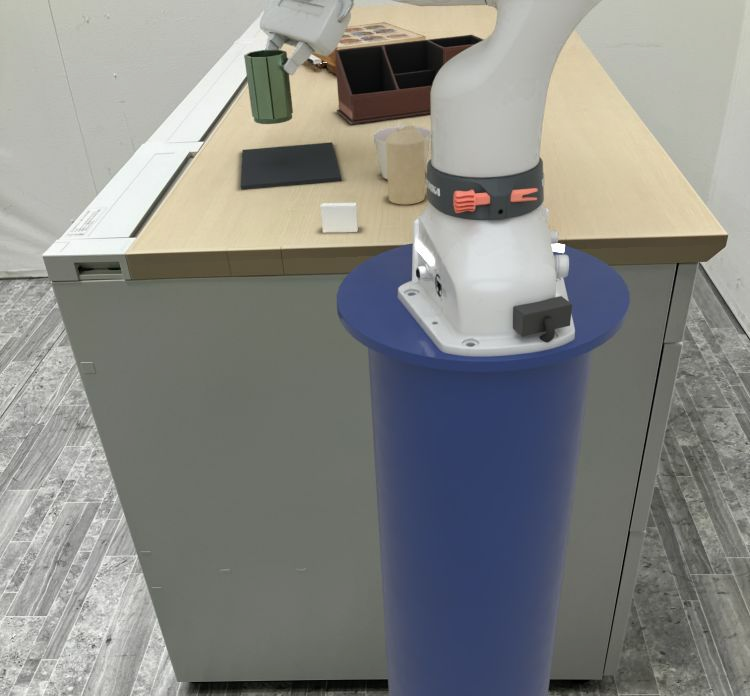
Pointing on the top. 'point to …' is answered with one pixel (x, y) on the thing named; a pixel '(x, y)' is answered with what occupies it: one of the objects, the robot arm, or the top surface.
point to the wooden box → (365, 40)
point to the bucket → (268, 86)
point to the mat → (289, 165)
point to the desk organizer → (392, 77)
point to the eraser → (339, 217)
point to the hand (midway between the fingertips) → (275, 68)
